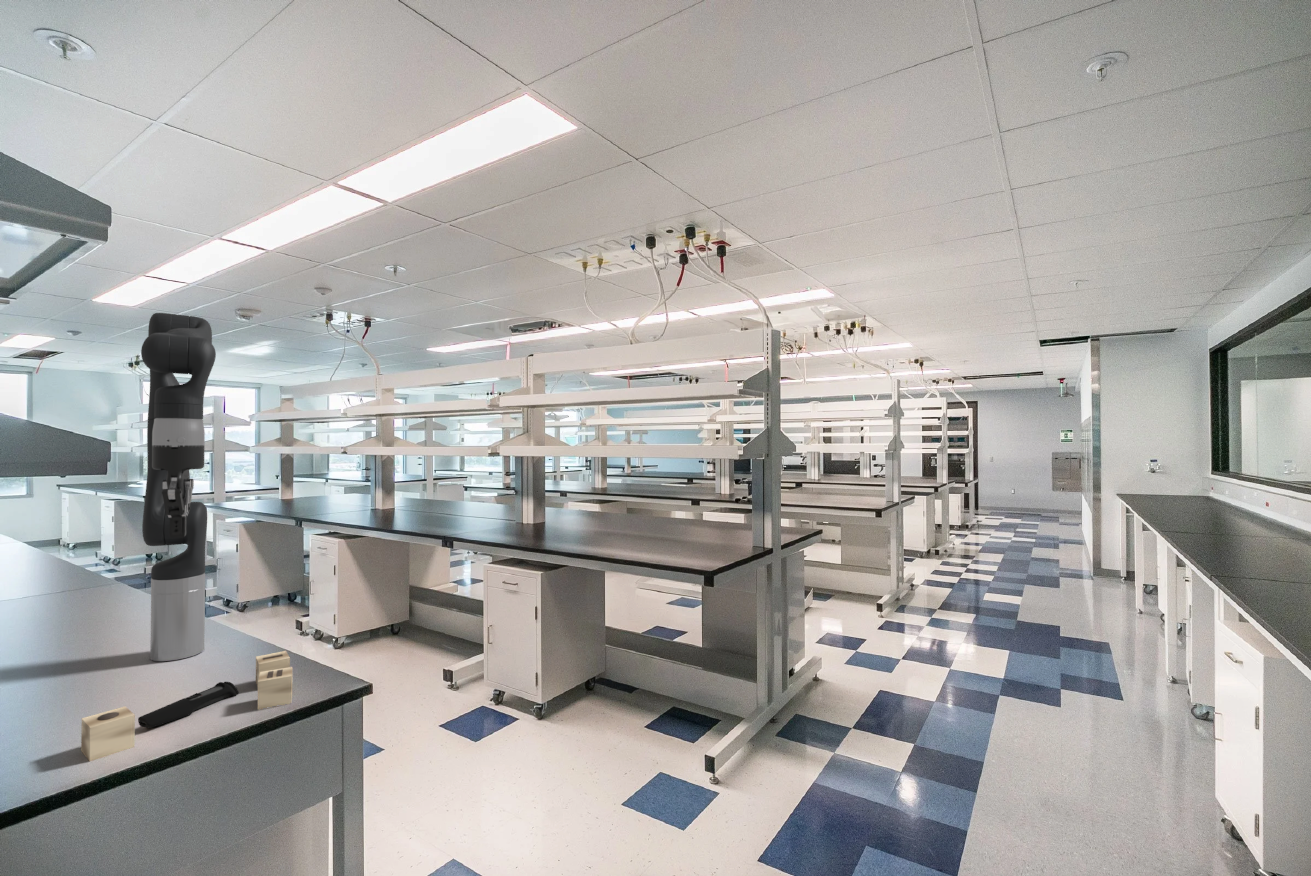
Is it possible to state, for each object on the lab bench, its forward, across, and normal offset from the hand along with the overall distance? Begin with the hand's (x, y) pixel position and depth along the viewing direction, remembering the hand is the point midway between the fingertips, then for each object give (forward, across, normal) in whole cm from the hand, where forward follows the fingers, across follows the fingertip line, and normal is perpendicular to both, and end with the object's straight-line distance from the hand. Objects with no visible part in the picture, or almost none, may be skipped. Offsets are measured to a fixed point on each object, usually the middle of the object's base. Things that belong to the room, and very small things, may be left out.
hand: (177, 537), depth 108 cm
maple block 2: (+29, +2, +15) cm, 33 cm away
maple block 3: (+29, +12, +16) cm, 35 cm away
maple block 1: (+29, +19, -5) cm, 35 cm away
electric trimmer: (+30, +9, +4) cm, 31 cm away
